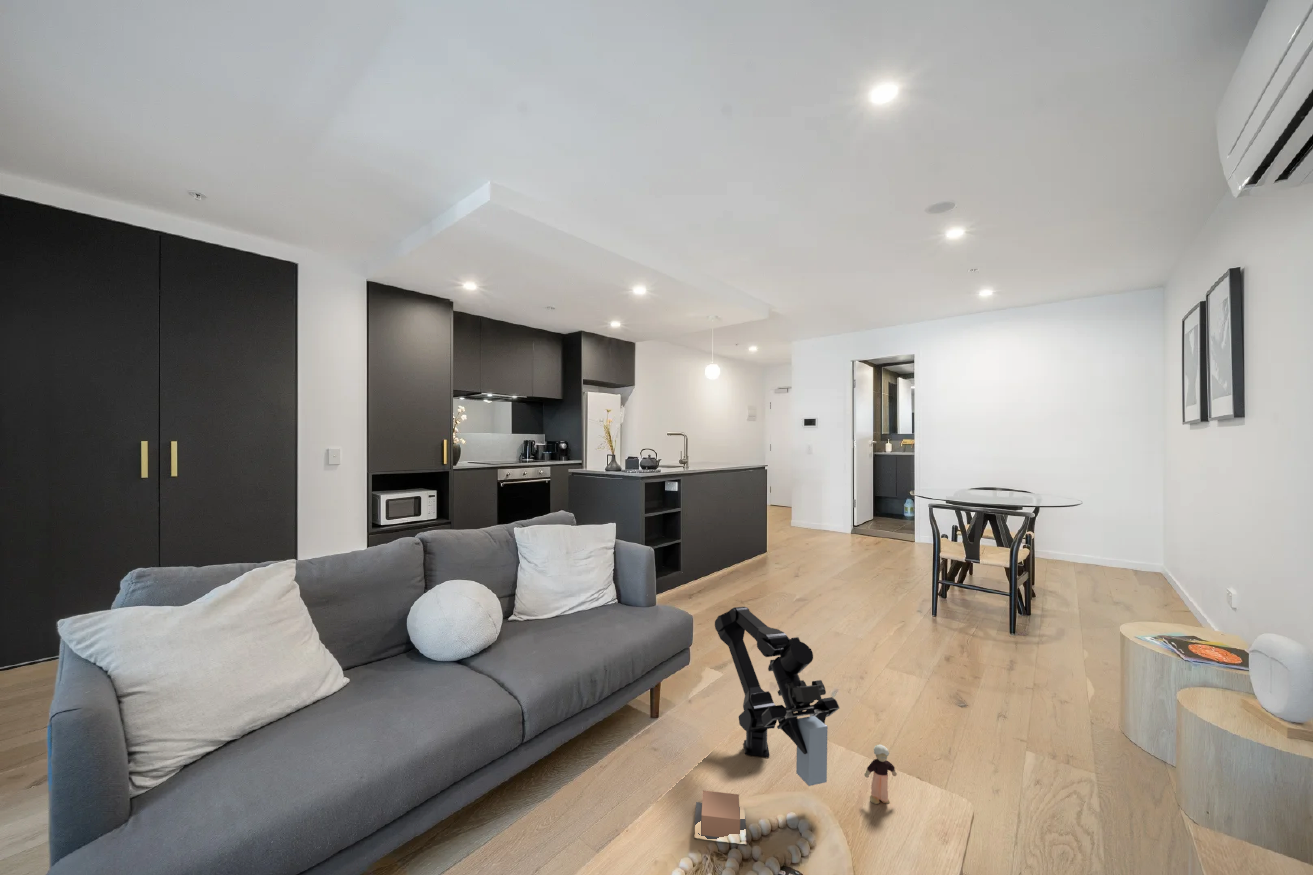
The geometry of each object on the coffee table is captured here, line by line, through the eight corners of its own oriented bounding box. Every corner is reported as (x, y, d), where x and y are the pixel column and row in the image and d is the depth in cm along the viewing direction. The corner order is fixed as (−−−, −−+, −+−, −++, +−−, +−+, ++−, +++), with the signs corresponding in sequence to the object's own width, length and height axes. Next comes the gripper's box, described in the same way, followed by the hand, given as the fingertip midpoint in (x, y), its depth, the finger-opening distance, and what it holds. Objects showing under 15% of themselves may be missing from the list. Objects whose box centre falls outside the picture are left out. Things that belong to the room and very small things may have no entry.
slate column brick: (796, 772, 117) (797, 718, 117) (813, 769, 118) (814, 715, 119) (808, 785, 112) (809, 729, 113) (826, 782, 114) (827, 726, 114)
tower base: (696, 806, 115) (696, 783, 115) (744, 811, 113) (745, 789, 113) (693, 838, 105) (694, 814, 105) (747, 845, 103) (747, 820, 104)
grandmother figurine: (873, 807, 116) (873, 751, 116) (862, 796, 119) (862, 742, 120) (900, 802, 118) (901, 747, 118) (889, 792, 121) (889, 738, 122)
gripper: (768, 672, 117) (795, 746, 106) (835, 663, 123) (866, 733, 112) (751, 691, 124) (774, 762, 113) (814, 682, 130) (842, 749, 119)
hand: (815, 751), depth 114 cm, fingers closed on slate column brick, 5 cm apart
